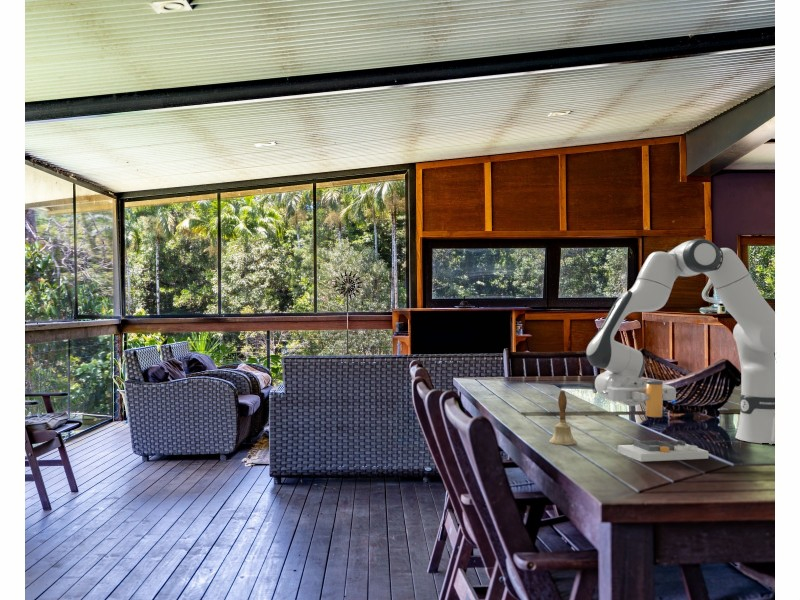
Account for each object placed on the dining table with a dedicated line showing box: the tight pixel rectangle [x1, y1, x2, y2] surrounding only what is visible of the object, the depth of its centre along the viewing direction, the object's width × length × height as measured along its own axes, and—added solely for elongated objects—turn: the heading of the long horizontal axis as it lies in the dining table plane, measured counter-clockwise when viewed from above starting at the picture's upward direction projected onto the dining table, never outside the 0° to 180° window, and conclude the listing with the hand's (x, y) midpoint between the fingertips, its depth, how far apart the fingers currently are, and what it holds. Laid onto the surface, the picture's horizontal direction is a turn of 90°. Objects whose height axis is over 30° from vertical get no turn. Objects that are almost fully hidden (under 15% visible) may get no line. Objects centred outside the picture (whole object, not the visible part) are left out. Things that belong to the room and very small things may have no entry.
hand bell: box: [548, 390, 578, 446], centre depth 215 cm, size 8×8×16 cm
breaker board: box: [617, 439, 709, 462], centre depth 198 cm, size 21×12×3 cm, turn 102°
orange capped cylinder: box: [645, 379, 664, 418], centre depth 198 cm, size 4×4×10 cm
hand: (656, 397), depth 197 cm, fingers closed on orange capped cylinder, 4 cm apart
